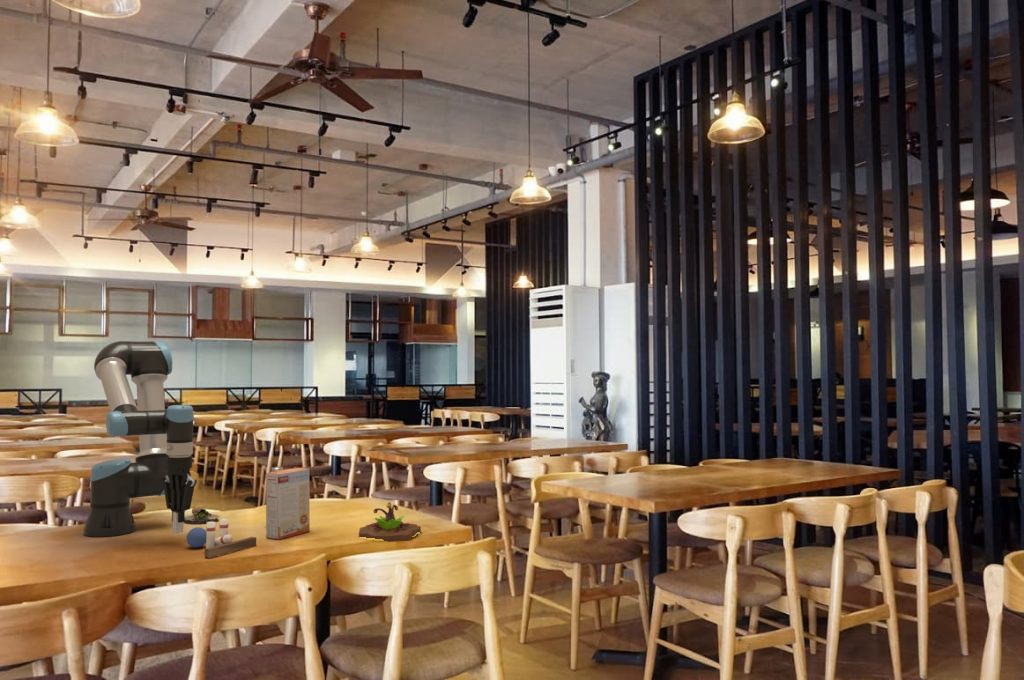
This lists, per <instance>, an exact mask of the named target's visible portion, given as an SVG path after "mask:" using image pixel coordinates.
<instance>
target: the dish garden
mask: <svg viewBox="0 0 1024 680" xmlns="http://www.w3.org/2000/svg"><path fill="white" fill-rule="evenodd" d="M193 504H195V502H193ZM203 507H204V506H203V504H197V505H196V504H195V505H194V506H193V507H192V510H191V515H188V516H185V518H184V519H185V520H184V522H183V523H184V524H185V525H186V524H187V525H206V524H207V522H214V521H216V520H217V519H219V517H220V515H218V514H211V513H210V512H209V511H208V510H207V509H205V508H203Z"/></svg>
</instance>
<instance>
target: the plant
mask: <svg viewBox="0 0 1024 680" xmlns="http://www.w3.org/2000/svg"><path fill="white" fill-rule="evenodd" d="M386 509H388V512H387V511H386V510H385V509H383V508H379V507H378V508H377V507H376V508H374V509H373V514H377V513H378V511H381V512H382V513H384V515H385V516H382V515H380V516H379V518H377V517H373V519H374V520H375V521H376V522H372V523H371V524H366V525H365V526H363V527H360V528H359V531H358V538H359V537H366V538H375V539H383V540H384V541H387V543H389V542H405V541H406V542H408V541H411V540H412V539H413V538H412V536H414V535H415V534H416V533H417V532H420V531H421V532H422V529H421V526H419V525H418V524H415V523H410V522H406V523H405V522H404V521H402V520H403V519H404V518H405V515H403V516H399V517H398V518H396V516H395V513H394V511H398V510H399V507H398V506H397V505H396V504H393V505H392V503H391V502H387V504H386ZM411 538H412V539H411Z"/></svg>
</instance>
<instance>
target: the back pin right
mask: <svg viewBox="0 0 1024 680" xmlns="http://www.w3.org/2000/svg"><path fill="white" fill-rule="evenodd" d="M205 530H206V532H207V537H206V543H205V546H206V547H205V549H207V548H211V547H215V538H216V521H209V522H206V529H205Z"/></svg>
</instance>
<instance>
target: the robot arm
mask: <svg viewBox="0 0 1024 680" xmlns="http://www.w3.org/2000/svg"><path fill="white" fill-rule="evenodd" d="M93 363H94V365H93V367H94V368H93V369H94V372H95V373H94V374H95V375H96V377H97V378H98V380H100V381H101V384H102V385H101V386H102V388H103V390H104V394H105V398H106V401H107V404H108V407H109V410H110V411H109V412H108V413H107V415H106V419H105V425H106V433H107V434H108V435H109V436H110V437H130V436H138V438H139V439H138V440H139V453H138V454H137V455H136V456H135V459H134V460H135V461H134V462H132V460H131V459H130V458H116V459H111V460H105V461H101V462H98V463H96V464H94V465H93V466H92V467H91V471H90V477H89V481H90V497H89V498H90V500H89V501H90V505H89V506H90V507H89V513H88V515H87V518H86V521H85V524H84V526H83V535H84V536H87V537H94V538H95V537H96V538H97V537H102V538H103V537H114V536H122V535H126V534H129V533H130V534H131V533H133V532H135V531H136V521H135V518H134V515H133V513H132V510H131V507H130V504H131V499H134V498H145V497H146V498H147V497H154V496H155V497H156V496H157V497H160V496H165V505H166V509H169V510H170V511H171V521H172V534H175V535H176V534H181V533H184V523H185V522H184V520H185V519H184V518H185V517H186V516H185V512H186V511H189V510H190V509H191V505H192V500H193V496H194V490H195V487H196V485H197V484H198V483H197V482H198V480H197V479H193V477H192V475H191V474H192V473H191V468H193V456H192V455H193V451H194V446H193V445H194V443H193V440H194V438H193V437H194V419H195V416H194V408H193V406H192V405H186V404H185V405H183V404H182V405H181V404H176V405H169V406H168V407H167V408H165V390H164V388H165V387H164V383H165V382H166V381H167V380H168V375H170V374H171V373H172V371H173V364H174V363H173V356H172V351H171V349H170V347H169V346H168V344H167V343H165V342H162V341H154V340H152V341H133V340H132V341H130V340H129V341H126V340H120V341H119V340H118V341H114V342H111V343H110V344H108V345H106V346H104V347H103V348H102V349H101V350H100V351H99V352H98V353H97V355H96V357H95V360H94V362H93ZM127 375H128V376H129V375H130V379H131V380H130V381H131V382H132V383H134V384H135V386H136V400H137V403H136V400H135V398H134V394H133V392H132V389H131V386H130V382H129V379H128V376H127Z"/></svg>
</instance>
